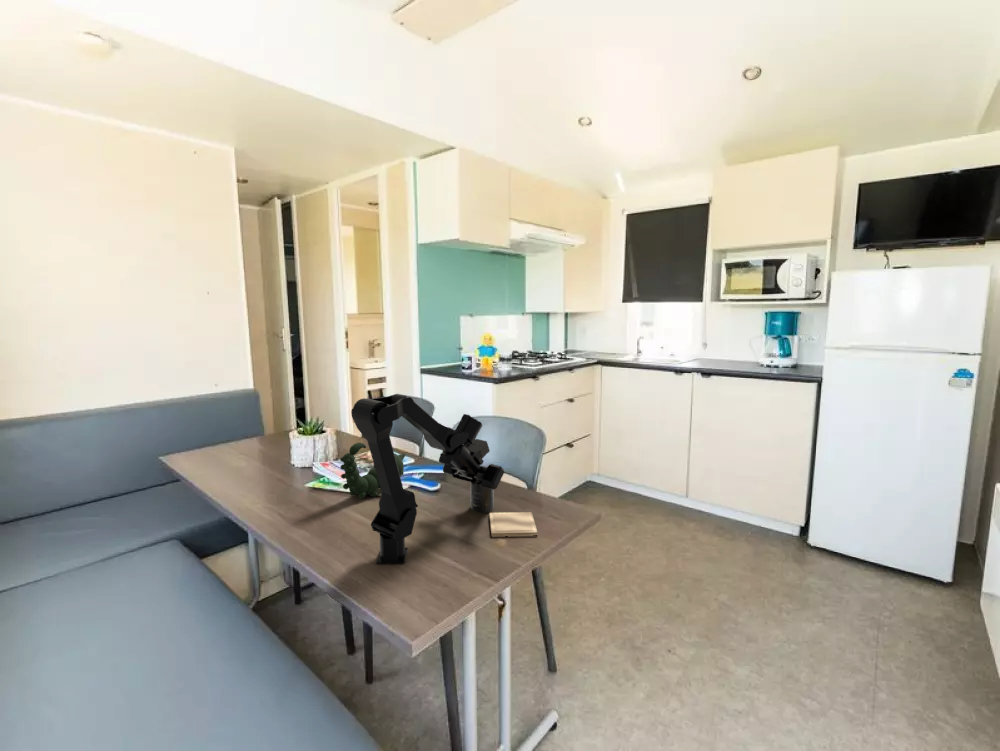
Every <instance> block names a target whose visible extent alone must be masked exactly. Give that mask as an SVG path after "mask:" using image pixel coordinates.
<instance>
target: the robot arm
mask: <svg viewBox="0 0 1000 751" xmlns="http://www.w3.org/2000/svg"><path fill="white" fill-rule="evenodd" d="M350 412H351V414H350V415H351V419H352V420H353V422H354V424H355V426H356V429H357V430H358V431H359V432H360V433H361V435H362V436H363V437H364V439H365V440H366V441H367V444H368V448H369V451H370V455H371V458H372V459H371V460H372V463H373V467H374V466H375V470H376V473H377V477H378V481H379V484H380V488H381V489H380V491H381V496H380V498H379V500H378V508H379V510H378V511H377V513H376V514H375V516H374V517H373V519H372V521H371V523H370V527H371V529H372V531H373V532H377V533H378V534H379V553H378V556H377V559H376V564H377V565H393V564H394V565H395V564H397V565H398V564H403V565H404V564H405V563H406V560H407V555H408V551H409V547H405V546H406V544H405V542H406V541H405V539H406V538H407V537H409V536H411V535H412V533H413V529H414V525H415V522H416V519H417V518H416V517H417V514H418V512H417V508H418V507H419V505H418V504H417V501H416V495H415V493H414V492H413V491H411V490H408V489H406V488H404V487H403V483H402V479H401V476H400V474H399V471H398V467H397V463H396V459H395V455H394V454H395V452H394V448H393V443H392V440H391V436H390V435H391V431H392V429H393V425H394V421H398V420H399V419H400V418H401V417H402V418H403V419H404V420H406V421H407V422H408V423H409V424H411V425H412V426H413V428H415V429H417V430H418V431H420V432H421V434H423V437H424V438H423V439H424V440H425V442H426V443H427V445H429V447H430V448H433V449H435V450H439V451H442V452H440V454H439V458H438V463H441V464H444V465H443V467H442V472H443V473H444V474H445V476H450V477H452V478H454V479H458V480H462V481H465V482H470V483H471V480H472V479H473V478H474V477H476V475H477V474H478V475H482V476H483V477H482V485H481V486H483V487H487V488H491V489H494V490H496V489H497V488H498V486H499V484H500V483H501V480H502V479H503V476H504V475H505V469H504V468H503V467H502V466H501V465H498V464H494V463H490V464H488V466H482V465H483V464H484V462H485V461H484V458H485V457H486V455H487V454H489V453H490V447H489V443H488V441H487V440H483V439H478V438H477V436H479V433H480V431H481V430H482V429H483V424H482V422H481V421H479V420H478V419H476V418H474V417H472V416H471V415H470V414H465V413H463V414H462V416H461V419H460V421H459V423H458V424H457V426H456V428H455V429H453V428H451V427H449V426H448V425H445V424H442V423H439V422H438V421H437V420H436V419H435V418H433V417H432V416H431V415H430V414H429V413H428V412H426V410H424V409H423V408H422V407H421V406H420V405H419V404H418V403H416V402H415V401H414V399H413V398H412V397H411V396H409V395H406V394H400V393H394V394H391V395H386V396H382V397H381V396H380V397H373V398H371V399H370V398H365V397H364V398H359V399H358V400H357V401H356V402H355V403H354V405H353V407H352V408H351V410H350Z"/></svg>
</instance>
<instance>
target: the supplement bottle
mask: <svg viewBox="0 0 1000 751" xmlns="http://www.w3.org/2000/svg"><path fill="white" fill-rule="evenodd" d="M482 477H483V476H482V475H478V474H477V475H476V477H474V478H473V479H472V480H471V482H470V509H471V510H472V511H473V512H475V513H479V514H485V513H486V514H487V513H491V511H493V510H494V504H495V503H494V502H495V501H494V499H495V497H494V495H495V492H494V491H495V489H491V488H487V487H483V486H481V485H482Z"/></svg>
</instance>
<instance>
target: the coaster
mask: <svg viewBox="0 0 1000 751" xmlns="http://www.w3.org/2000/svg"><path fill="white" fill-rule="evenodd" d="M535 522H536V521H535V520H534V516H533V513H532V512H530V511H527V512H526V511H525V512H524V511H522V512H517V511H516V512H515V511H514V512H510V511H509V512H489V524H490V532H491V533H490V534H491V538H494V537H495V538H496V537H498V538H499V537H503V538H504V537H505V536H508V537H534V536H533V535H537V536H538V530H537V526H536V524H535ZM527 535H529V536H527Z"/></svg>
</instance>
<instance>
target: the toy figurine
mask: <svg viewBox="0 0 1000 751" xmlns="http://www.w3.org/2000/svg"><path fill="white" fill-rule="evenodd" d="M362 448H363V449H366V448H367V445H366V444H364V442H356V443H354V444H352V446H350V448H349V449H348V450H349V452H347V453H345V454H343V456H341V457H340V459H339V461H340V462H342V463H343V464H341V465H340V469H341V470H343V471H344V473H342V474H341V476H340V477H341V478H342V479H343V480H344V479H346V483H344V484H342V488H343V489H344V490H348V489H349V490H348V491H349V493H350V495H351V496H356V495H358V497H359V499H364V498H366V496H367V495H369V496H371V497H372V498H374V497H376V496H377V495H378V490H381V488H380V484H379V481H378V477H377V473H376V470H375V466H374V465H373V467H372V468H371V469H369V471H368V472H367V473H366V474H365V475H362V476H361V475H360V470H358V463H357V462H356V461H355V459H356V457H355V455H357V454H358V453H359V451H360V450H361V449H362ZM394 455H395V459H396V463H397V467H398V471H399V474H400V477H401V476H403V475H404V474H405V473H404V468H405V467H404V466H405V465H404V462H403V461H404V458H405V457H406V453H401V454H396V453H394Z"/></svg>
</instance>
